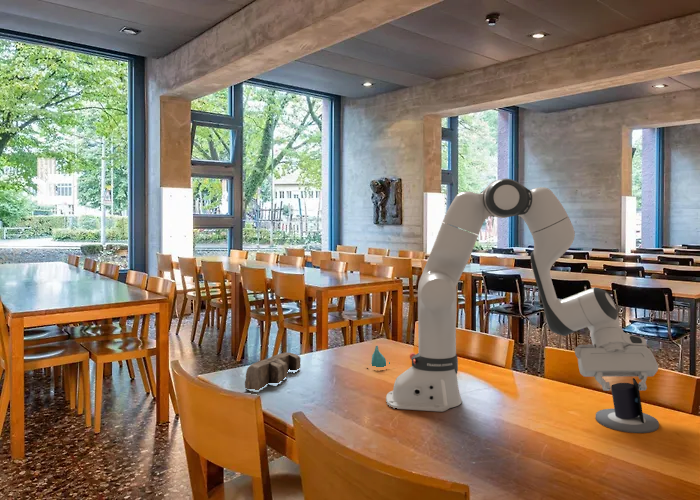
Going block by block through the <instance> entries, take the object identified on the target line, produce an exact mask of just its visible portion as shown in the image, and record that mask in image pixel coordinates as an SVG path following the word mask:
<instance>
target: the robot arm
mask: <svg viewBox="0 0 700 500" xmlns="http://www.w3.org/2000/svg"><path fill="white" fill-rule="evenodd" d="M567 213H568V212H567V211H566V210H565V208H564V206H563V205H562V203H561V202H560V200H559V199H558V197H557V196H556V195H555V193H554V192H553V191H552V190H551V189H549V188H548V187H545V186H543V187H542V186H541V187H539V186H538V187H535V188H532V189H529V188H528V187H526V186H524V185H523V184H521V183H520V182H518V181H517V180H514V179H511V178H500V179H497V180H494V181H493V182H491V183H490V184H489V185H488V186H486V188H485V189H483V190H482V191H481V192H480V193H475V192H473V191H461V192H459V193H457V195H455V197H454V198H453V200H452V202H451V204H450V205H449V207H448V209H447V211H446V213H445V215H444V217H443V220H442V222H441V225H440V227H439V230H438V233H437V236H436V237H435V241H434V244H433V246H432V248H431V251H430V253H429V255H428V259H427V261H426V264H425V266H424V268H423V271H422V274H421V275H420V278H419V281H418V284H417V285H418V288H417V317H418V318H417V321H418V322H417V324H418V328H417V329H418V332H417V333H418V334H417V335H418V341H417V342H418V344H417V345H418V352H417V353H415V352H410V354H409V360H411V366H410V367H408V369H406V370H404V372H403V371H402V373H401V374H399V375H398V376H396V378H395V380H394V385H393V388H392V389H393V390H391V391H389V392H387V394H386V396H385V401H386V402H387V403H386V405H387V406H388V405H389V406H388V407H390V406H391V407H393V408H392V409H395V408H397V409H398V410H410V411H411V410H413V411H427V412H440V413H441V412H446V411H447V410H449V409H451V408H455V407H458V406H460V405H461V404H462V402H463V401H462V398H461V394H460V389H459V382H458V375H457V374H458V371H459V359H458V355H457V347H456V346H457V342H456V341H457V332H456V331H457V330H456V329H457V328H456V327H457V303H458V302H457V301H458V300H457V299H458V298H457V296H458V291H457V286H458V283H459V281H460V278H461V277H462V274H463V272H464V270H465V268H466V266H467V264H468V262H469V260H470V258H471V255H472V253H473V250H474V249H475V248H474V247H475V245H476V242H477V239H478V237H479V235H480V231H481V229H482V227H483V225H484V223H485V222H486V220H487V219H488V218H489V217H491V218H492V217H493V218H494V217H495V218H500V219H506V218H511V217H516V216H518V217H520V218H521V219H523V221H524V223H526V225H527V229H529V231H530V234H531V236H532V239H533V250H532V251H531V253H530V265H531V269H532V272H533V276H534V280H535V283H536V286H537V290H538V293H539V297H540V300H541V303H542V307H543V313H544V317H545V322H546V324H547V327H548V328H549V330H550V331H551V332H552V333H554V334H556V335H560V336H563V337H566V336H568V335H570V334H573V333H576V332H577V331H580V330H582V329H586V328H588V331H589V332H590V340H591V344H578V345H577V346H576V347H575V348H574V354H575V357H576V358H577V364H578V366H577V367H578V369H579V373H580V375H581V376H583V377H586V378H587V377H590V378H591V377H594V379H595V381H596V382H597V383H598V384H600V386H601V387H602V390H603V391H610V390H611V384H610V382H609V381H606V380H605V379H604V378H603V377H605V378H607V377H609V378H610V377H617V378H619V377H638V380H640V381H639V382H638V386H639V391H646V390H647V389H648V387H647V386H648V385H647V382H646V381H647V379H648V377H654V376H655V375H656V374H657V372H658V370H659V364H658V362H657V360H656V357H655V356H654V353H653V352H652V350H651V349H650V348H649V347H647V346H646V344H647V341H646V339H645V338H644V337H641V336H637V335H633V334H629V333H626V332H624V330H623V328H622V327H621V326H620V319H619V315H618V314H619V311H618V308H617V305H616V303H615V301H614V298H613V296H612V295H611V294H610V292H608V291H606V290H604V289H602V288H599V287H597V286H596V287H592V288H589V289H586V290H583V291H581V292H578V293H575V294H573V295H570V296H568V297H565V298H563V299H562V298H561V299H559V298H558V296H557V294H556V290H555V287H554V285H553V281H552V276H551V269H552V267H553V265H554V264H555V263H556V262H557V260H559V259H560V258H561V257H562V256H564V255H565V253H566V252H567V251H568V250H569V249H570V248H571V246H572V245H573V243H574V241H575V238H576V237H575V234H576V232H575V228H574V225H573V223H572V222H571V219H570V217H569V214H567ZM391 407H390V408H391Z"/></svg>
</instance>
